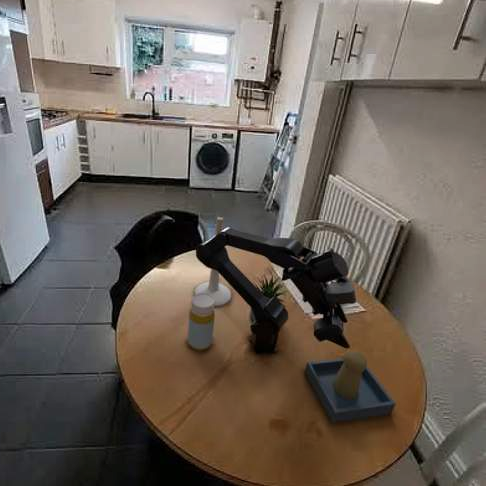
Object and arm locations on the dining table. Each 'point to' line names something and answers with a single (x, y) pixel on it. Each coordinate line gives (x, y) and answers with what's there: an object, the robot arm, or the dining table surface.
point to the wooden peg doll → (350, 374)
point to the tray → (341, 409)
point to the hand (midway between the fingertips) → (347, 334)
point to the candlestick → (215, 281)
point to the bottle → (201, 321)
